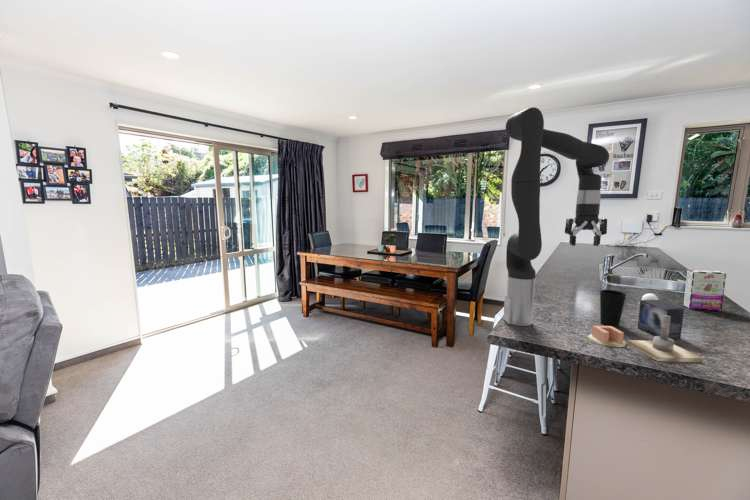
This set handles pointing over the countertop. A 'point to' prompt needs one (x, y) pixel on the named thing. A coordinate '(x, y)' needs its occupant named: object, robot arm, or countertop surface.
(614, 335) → the c link
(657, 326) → the small box
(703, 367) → the countertop surface
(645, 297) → the capsule
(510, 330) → the countertop surface
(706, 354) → the countertop surface
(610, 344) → the coaster
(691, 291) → the candy bar box
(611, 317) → the cup
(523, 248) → the robot arm
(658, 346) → the peg stand
